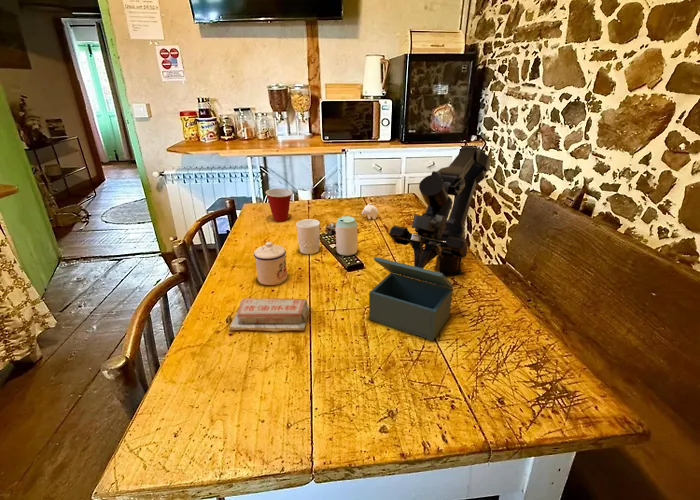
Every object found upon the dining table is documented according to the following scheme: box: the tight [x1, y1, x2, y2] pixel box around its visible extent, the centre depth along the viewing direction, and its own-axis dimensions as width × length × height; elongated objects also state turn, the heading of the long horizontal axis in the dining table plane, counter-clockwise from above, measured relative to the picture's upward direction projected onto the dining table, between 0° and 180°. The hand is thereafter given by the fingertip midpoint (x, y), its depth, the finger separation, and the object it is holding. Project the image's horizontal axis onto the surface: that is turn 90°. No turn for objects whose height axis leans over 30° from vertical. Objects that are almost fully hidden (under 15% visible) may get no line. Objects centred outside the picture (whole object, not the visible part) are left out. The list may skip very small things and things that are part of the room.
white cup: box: [295, 218, 321, 255], centre depth 134 cm, size 8×8×10 cm
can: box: [335, 215, 358, 257], centre depth 131 cm, size 7×7×12 cm
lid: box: [373, 256, 454, 289], centre depth 94 cm, size 12×17×1 cm
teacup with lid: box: [253, 241, 288, 286], centre depth 116 cm, size 12×9×12 cm
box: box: [368, 272, 454, 341], centre depth 97 cm, size 12×17×8 cm
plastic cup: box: [265, 188, 293, 222], centre depth 162 cm, size 11×11×12 cm
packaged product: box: [229, 297, 310, 333], centre depth 97 cm, size 18×5×10 cm
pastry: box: [324, 221, 336, 236], centre depth 150 cm, size 7×12×4 cm, turn 89°
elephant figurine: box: [361, 202, 379, 221], centre depth 162 cm, size 7×8×6 cm
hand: (416, 272), depth 95 cm, fingers closed, pressing on lid
